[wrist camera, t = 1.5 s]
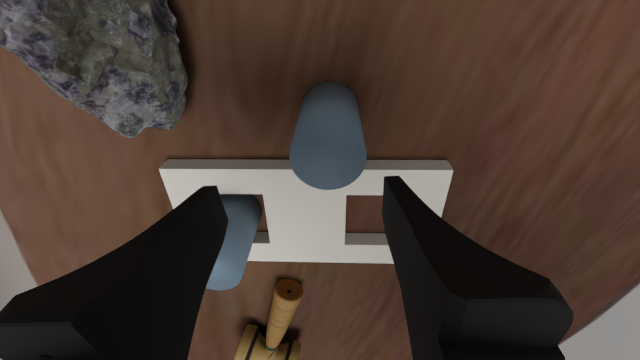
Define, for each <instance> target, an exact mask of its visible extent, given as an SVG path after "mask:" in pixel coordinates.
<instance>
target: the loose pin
mask: <svg viewBox="0 0 640 360" xmlns="http://www.w3.org/2000/svg"><path fill="white" fill-rule="evenodd" d="M289 160H290V164H291V167H292V169H293V171H294V173H295V174H296V176H297V177H298V178H299V179H300V180H301V181H303V182H304V183H305V184H307V185H309V186H311V187H314V188H317V189H322V190H334V189H339V188H343V187H345V186H347V185H349V184H351V183H352V182H354V181H355V180H356V179H357V178H358V177H359V176H360V175H361V173H362V172H363V170H364V168H365V165H366V160H367V152H366V146H365V141H364V135H363V130H362V125H361V119H360V114H359V109H358V103H357V100H356V98H355V96H354V94H353V93H352V91H351V90H350V89H349V88H347V87H346V86H344V85H342V84H340V83H337V82H323V83H320V84H318V85H316V86H314V87H313V88H311V89H310V90H309V91H308V92H307V94H306V95H305V97H304V99H303V103H302V106H301V110H300V114H299V117H298V121H297V125H296V128H295V132H294V136H293V139H292V143H291V147H290V151H289Z"/></svg>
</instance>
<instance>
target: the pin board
mask: <svg viewBox="0 0 640 360" xmlns="http://www.w3.org/2000/svg"><path fill="white" fill-rule="evenodd" d="M159 171H160V174H161V177H162V179H163V182H164V185H165V188H166V190H167V193H168V196H169V199H170V201H171V204H172V207H173V209H174V208H176V207H177V206H178V205H179V204H181V203H182V202H183V201H184V200H186V199H187V198H188V197H189V196H191V195H192V194H193V193H194V192H196V191H197V190H198V189H200V188H201V187H203V186H215V185H217V188H218V191H219V194H263V200H264V206H265V213H266V219H267V226H268V232H256V234H255V238H254V241H253V244H252V247H251V250H250V253H249V256H248V260H247V261H280V262H333V263H387V264H394V262H393V259H392V255H391V252H390V248H389V245H388V241H387V238H386V234H385V233H345V221H346V195H383V187H384V176H400V177H401V178H402V179H403V180H404V182H405V183H406V184H407V185H408V186H409V187H410V188H411V189H412V190H413V192H414V193H415V194H416V195H417V196H418V197H419V198H420V199H421V200H422V201H423V202H424V203H425V204H426V205H427V206H428V207H429V208H430V209H432V210H433V211H434V212H435V213H436V214H437V215H438V216H439V217H442V213H443V209H444V205H445V201H446V197H447V193H448V190H449V186H450V182H451V178H452V174H453V169H452V167H451V165H450V164H449V162H448V161H447V160H366V165H365V168H364V170H363V172H362V173H361V175H360V176H359V177H358V178H357V179H356V180H355V181H354V182H352V183H351V184H349V185H347V186H345V187H343V188H339V189H334V190H322V189H317V188H314V187H311V186H309V185H307V184H305V183H304V182H303V181H301V180H300V179H299V178H298V177H297V176H296V174H295V173H294V171H293V169H292V167H291V164H290V160H253V159H168V160H167V161H166V162H165V163H164V164H163V165H162V166H161V167H160V168H159Z"/></svg>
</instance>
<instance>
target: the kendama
mask: <svg viewBox="0 0 640 360" xmlns="http://www.w3.org/2000/svg"><path fill="white" fill-rule="evenodd" d="M302 295H303V288H302V286H301V285H300V284H299V283H298V282H297V281H295V280H292V279H286V278H285V279H281V280H279V281H278V282H277V283H276V285H275V288H274V295H273V300H272V306H271V311H270V315H269V320H268V325H267V332H266V339H265V338H264V337H263V336H262V334H261V333H260V331H259V329H258V326H256V325H253V324H248V325H247V327H246V329H245V331H244V333H243V335H242V338H241V340H240V343H239V346H238V348H237V351H236V354H235V356H234V359H233V360H298V357H299V353H300V348H301V344H300V343H299V342H297V341H295V340H293V341H291V342H288V343H286V344H279V343H280V342H281V340H282V338H283V336H284V334H285V333H286V330H287V328H288V326H289V324H290V322H291V319H292V317H293V315H294V312H295V310H296V308H297V306H298V304H299V302H300V300H301V298H302Z"/></svg>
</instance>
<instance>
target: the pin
mask: <svg viewBox="0 0 640 360" xmlns="http://www.w3.org/2000/svg"><path fill="white" fill-rule="evenodd" d="M220 197H221V200H222V203H223V206H224V209H225V212H226V214H227V217H228V220H229V221H228V226H227V230H226V235H225V239H224V242H223V245H222V247H221V250H220V252H219V255H218V258H217V260H216V263H215V265H214V268H213V270H212V273H211V275H210V278H209V280H208V283H207V285H206V288H207V289H211V290H228V289H231V288H233V287H235V286H237V285H238V284H239V283H240V281H241V278H242V275H243V272H244V269H245V266H246V263H247V260H248V256H249V253H250V250H251V247H252V244H253V241H254V238H255V234H256V231H257V228H258V225H259V222H260V219H261V215H262V206H261V204H260V202H259V201H258V200H257V199H256V198H255V197H254V196H253V195H251V194H222V195H221V196H220Z"/></svg>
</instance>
